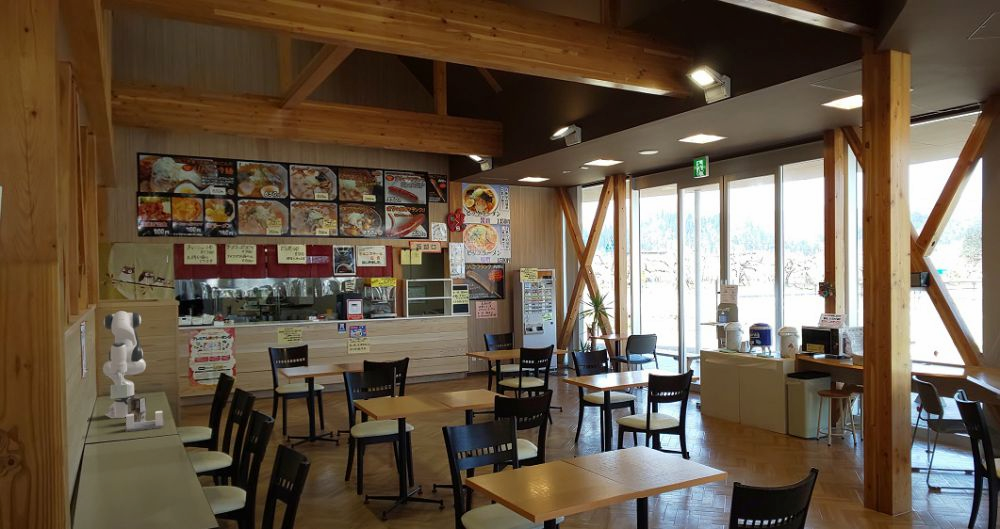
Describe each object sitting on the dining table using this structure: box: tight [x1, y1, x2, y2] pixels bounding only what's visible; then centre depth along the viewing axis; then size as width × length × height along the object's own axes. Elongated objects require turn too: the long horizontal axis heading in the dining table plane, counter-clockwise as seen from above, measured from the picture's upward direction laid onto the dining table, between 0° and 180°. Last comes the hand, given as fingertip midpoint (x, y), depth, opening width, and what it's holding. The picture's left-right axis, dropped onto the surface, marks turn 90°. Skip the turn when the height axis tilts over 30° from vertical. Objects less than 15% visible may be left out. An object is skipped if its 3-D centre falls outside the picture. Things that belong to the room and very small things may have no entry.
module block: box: [110, 383, 128, 400], centre depth 414 cm, size 4×9×8 cm, turn 117°
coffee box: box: [127, 396, 147, 423], centre depth 439 cm, size 9×6×16 cm
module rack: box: [125, 410, 165, 433], centre depth 422 cm, size 9×21×10 cm, turn 118°
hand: (119, 391), depth 414 cm, fingers closed on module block, 4 cm apart
